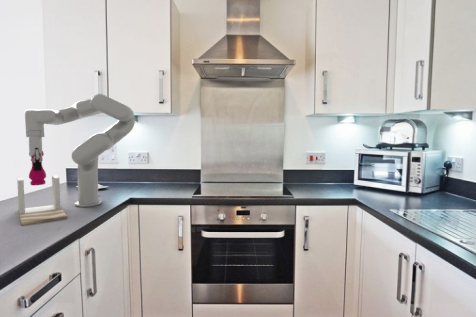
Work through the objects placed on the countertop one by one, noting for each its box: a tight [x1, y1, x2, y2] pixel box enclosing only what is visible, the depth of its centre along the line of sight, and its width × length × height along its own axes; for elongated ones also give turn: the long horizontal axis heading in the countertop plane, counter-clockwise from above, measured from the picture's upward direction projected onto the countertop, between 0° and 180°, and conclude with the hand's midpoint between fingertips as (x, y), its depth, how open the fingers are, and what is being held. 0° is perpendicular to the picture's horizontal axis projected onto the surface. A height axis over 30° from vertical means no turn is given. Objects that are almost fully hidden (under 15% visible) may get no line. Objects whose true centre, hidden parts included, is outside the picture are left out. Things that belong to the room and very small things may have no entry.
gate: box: [16, 174, 61, 216], centre depth 136 cm, size 10×16×16 cm, turn 130°
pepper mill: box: [28, 150, 47, 186], centre depth 142 cm, size 7×7×20 cm
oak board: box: [19, 208, 68, 226], centre depth 125 cm, size 16×16×1 cm
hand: (37, 169), depth 142 cm, fingers closed on pepper mill, 5 cm apart
